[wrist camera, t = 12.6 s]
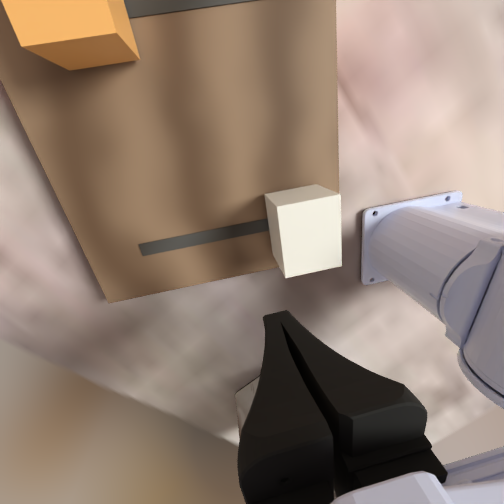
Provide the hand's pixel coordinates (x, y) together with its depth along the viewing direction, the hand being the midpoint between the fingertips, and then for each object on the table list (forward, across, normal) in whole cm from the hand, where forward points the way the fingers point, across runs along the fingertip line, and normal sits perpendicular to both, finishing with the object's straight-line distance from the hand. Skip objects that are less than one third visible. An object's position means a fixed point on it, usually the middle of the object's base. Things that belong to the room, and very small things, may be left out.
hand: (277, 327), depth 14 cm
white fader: (+8, -4, -3) cm, 9 cm away
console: (+10, +2, -9) cm, 14 cm away
